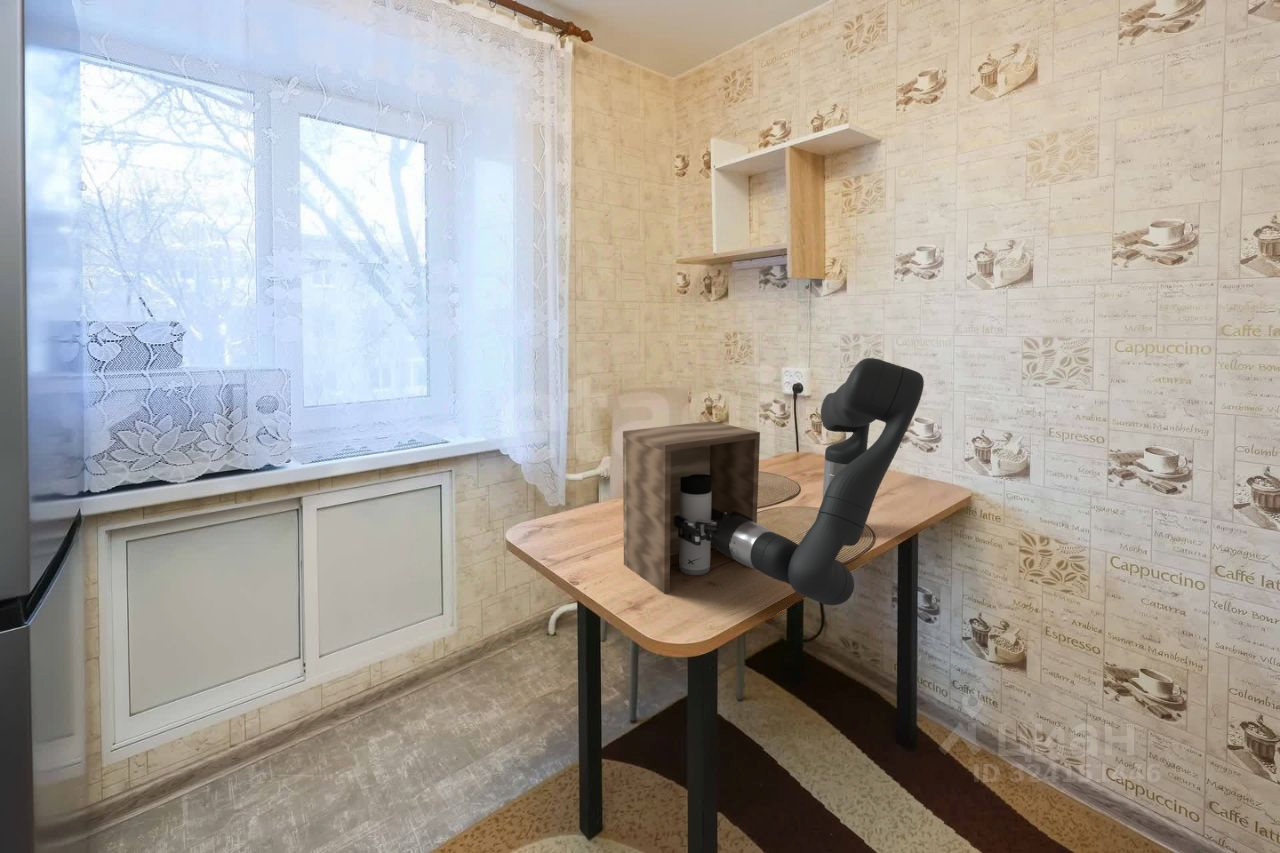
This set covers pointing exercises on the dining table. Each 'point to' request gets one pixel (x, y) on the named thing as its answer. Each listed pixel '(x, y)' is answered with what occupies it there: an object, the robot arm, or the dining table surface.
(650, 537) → the cubby
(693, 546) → the travel mug
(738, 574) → the dining table surface
